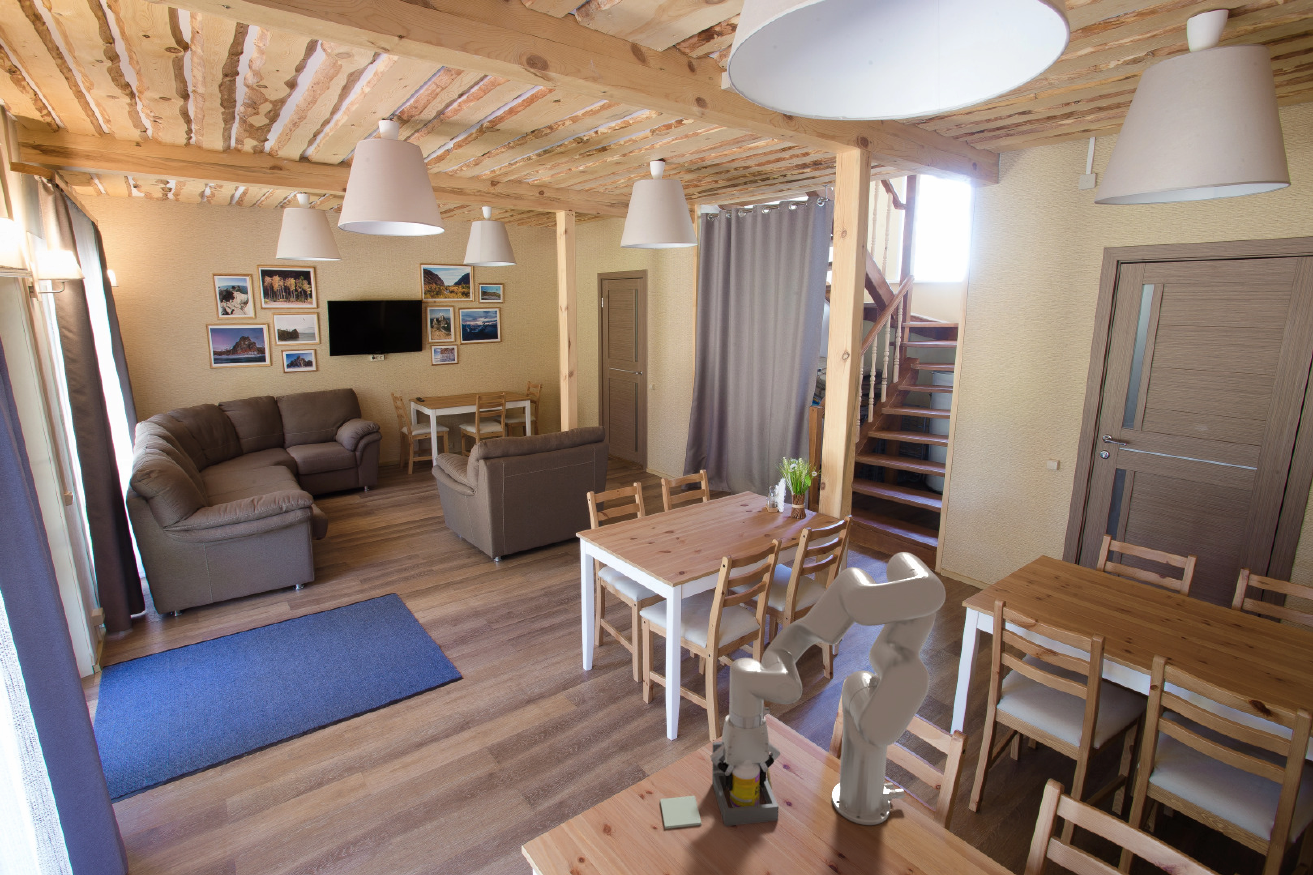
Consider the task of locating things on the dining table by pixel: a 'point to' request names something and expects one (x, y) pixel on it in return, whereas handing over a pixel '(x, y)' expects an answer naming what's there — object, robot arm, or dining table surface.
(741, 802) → the supplement bottle
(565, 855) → the dining table surface
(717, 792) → the case
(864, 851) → the dining table surface
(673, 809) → the rest pad
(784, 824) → the dining table surface
